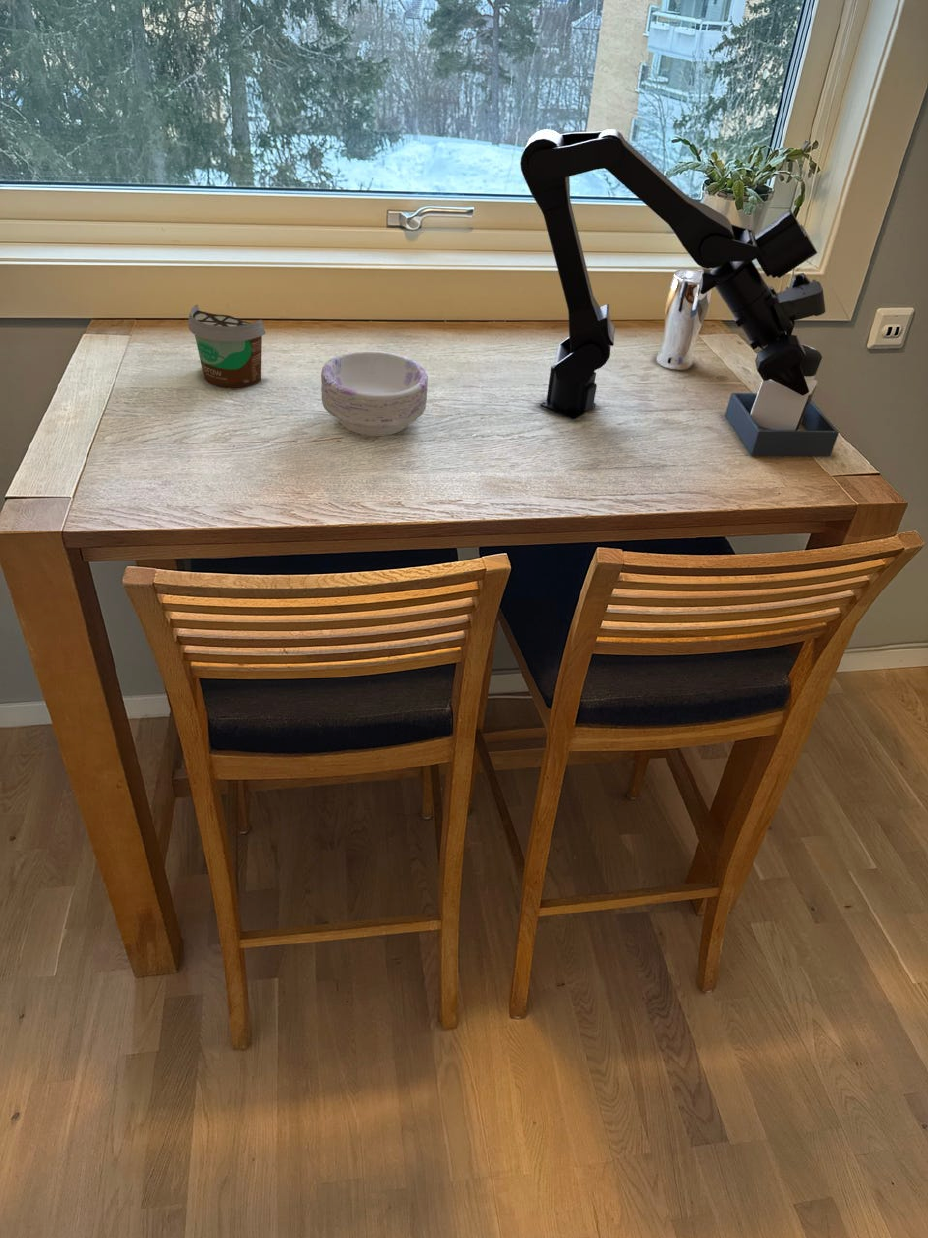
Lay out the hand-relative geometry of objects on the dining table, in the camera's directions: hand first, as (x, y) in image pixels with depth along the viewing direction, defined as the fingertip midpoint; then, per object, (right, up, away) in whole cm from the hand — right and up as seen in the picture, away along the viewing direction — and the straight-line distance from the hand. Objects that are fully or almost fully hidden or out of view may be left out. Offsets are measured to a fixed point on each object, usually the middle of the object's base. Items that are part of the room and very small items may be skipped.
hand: (802, 381), depth 133 cm
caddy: (-2, -7, +6) cm, 9 cm away
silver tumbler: (-13, +10, +24) cm, 29 cm away
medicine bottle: (-3, -5, +5) cm, 8 cm away
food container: (-87, +2, +7) cm, 87 cm away
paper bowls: (-63, -6, 0) cm, 63 cm away
